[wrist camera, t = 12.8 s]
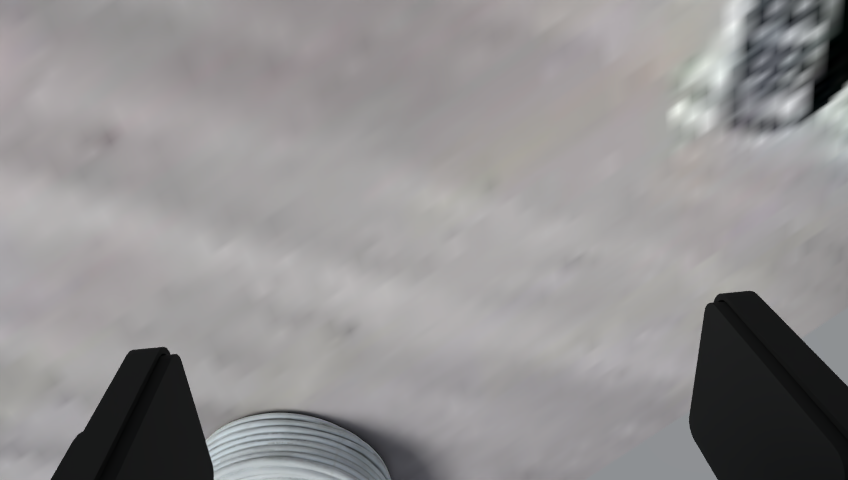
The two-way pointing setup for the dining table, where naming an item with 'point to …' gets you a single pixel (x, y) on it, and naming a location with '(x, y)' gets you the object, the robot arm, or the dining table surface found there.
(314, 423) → the cable
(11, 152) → the dining table surface
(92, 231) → the dining table surface
